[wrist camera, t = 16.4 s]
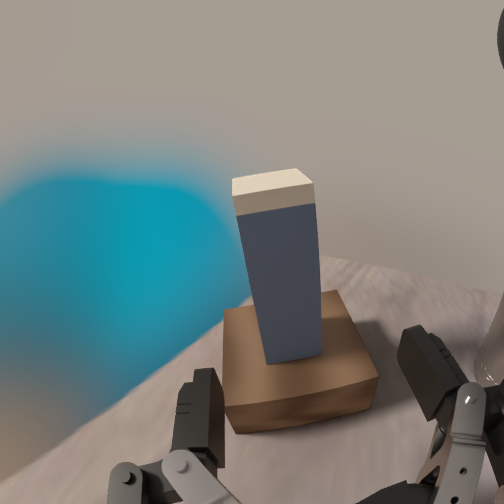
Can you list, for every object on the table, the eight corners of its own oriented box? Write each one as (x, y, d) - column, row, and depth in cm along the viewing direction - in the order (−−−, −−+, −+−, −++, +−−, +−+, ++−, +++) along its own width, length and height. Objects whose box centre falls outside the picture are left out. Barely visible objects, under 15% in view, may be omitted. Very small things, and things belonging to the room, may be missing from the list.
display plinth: (336, 324, 32) (336, 289, 29) (370, 408, 21) (379, 376, 19) (233, 342, 32) (224, 309, 30) (235, 434, 21) (221, 406, 19)
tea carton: (309, 319, 26) (296, 168, 20) (321, 354, 22) (313, 182, 16) (261, 328, 26) (232, 178, 20) (266, 364, 22) (232, 196, 16)
